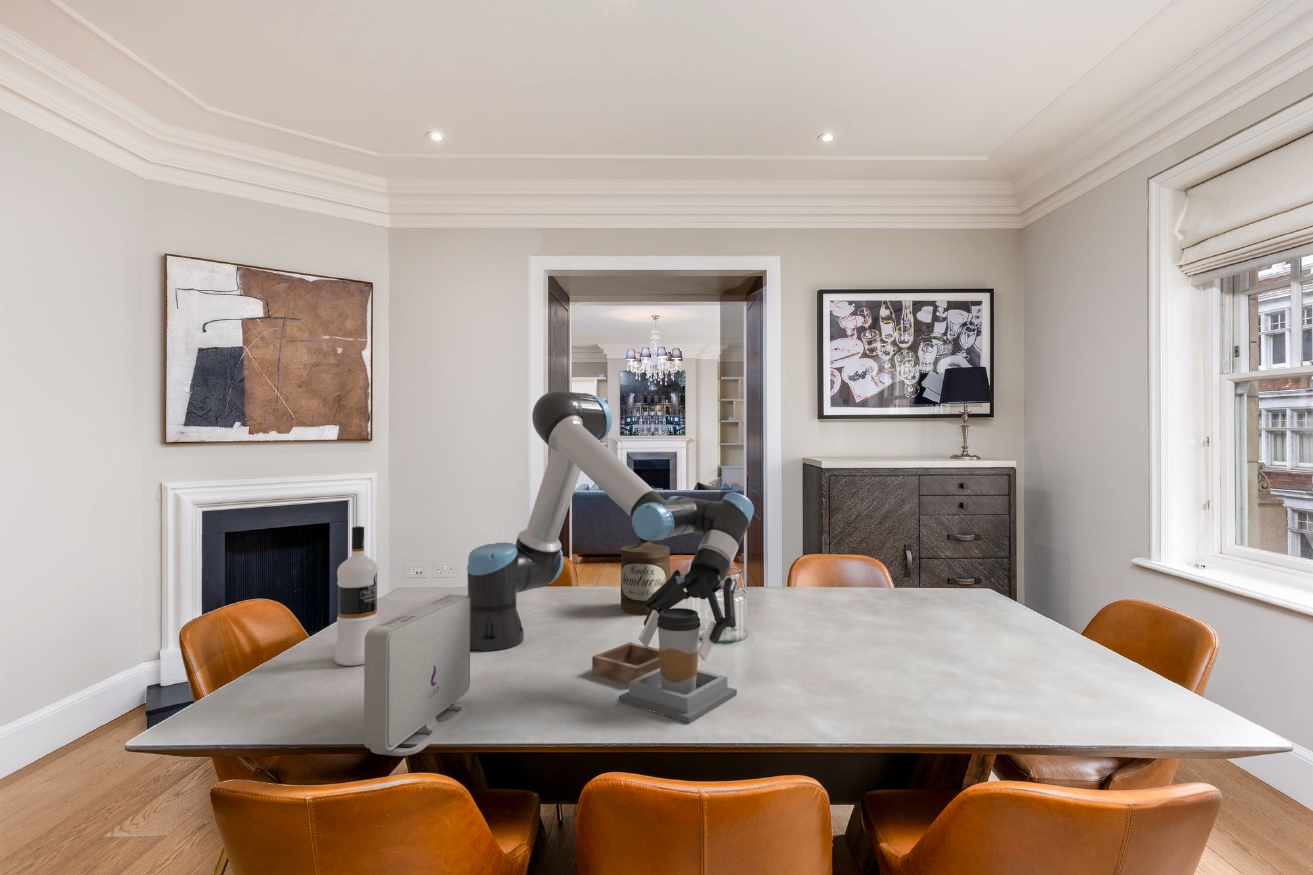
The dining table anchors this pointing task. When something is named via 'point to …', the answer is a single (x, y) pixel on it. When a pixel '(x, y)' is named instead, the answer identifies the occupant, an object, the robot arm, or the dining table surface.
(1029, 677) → the dining table surface
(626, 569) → the wooden container
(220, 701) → the dining table surface
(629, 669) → the walnut holder
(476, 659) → the dining table surface
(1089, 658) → the dining table surface
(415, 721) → the network device
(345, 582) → the vodka
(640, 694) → the dock pad
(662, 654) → the coffee cup
